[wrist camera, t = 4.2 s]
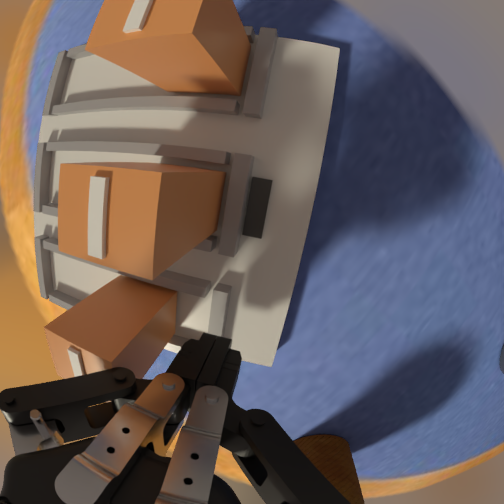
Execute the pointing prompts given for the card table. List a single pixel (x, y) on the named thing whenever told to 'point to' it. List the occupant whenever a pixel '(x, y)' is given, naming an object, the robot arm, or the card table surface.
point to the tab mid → (136, 213)
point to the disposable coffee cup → (333, 463)
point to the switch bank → (206, 157)
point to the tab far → (113, 329)
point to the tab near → (175, 43)
